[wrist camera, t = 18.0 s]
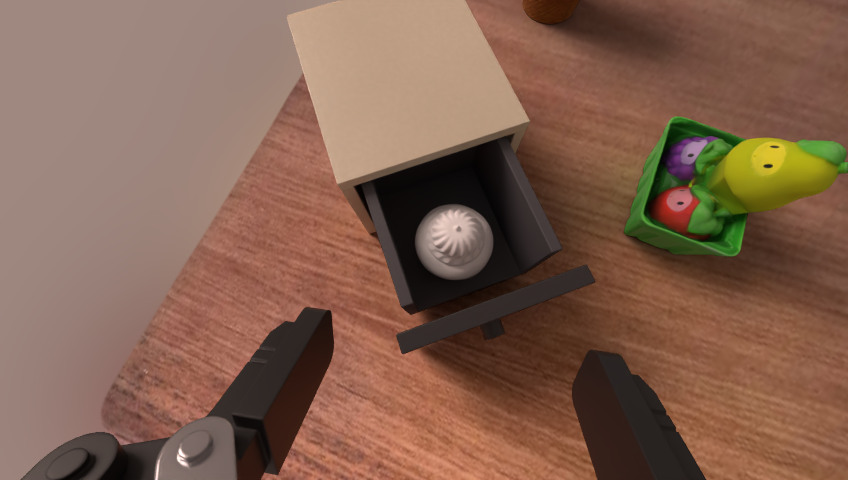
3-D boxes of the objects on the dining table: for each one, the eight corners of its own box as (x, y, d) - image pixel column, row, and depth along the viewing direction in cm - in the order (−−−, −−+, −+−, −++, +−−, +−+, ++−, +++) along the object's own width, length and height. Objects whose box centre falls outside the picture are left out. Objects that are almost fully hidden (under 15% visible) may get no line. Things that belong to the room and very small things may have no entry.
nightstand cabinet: (498, 190, 32) (530, 121, 22) (369, 234, 31) (337, 184, 21) (444, 72, 36) (448, -32, 26) (328, 108, 35) (285, 15, 25)
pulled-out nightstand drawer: (552, 310, 28) (606, 300, 19) (416, 362, 27) (408, 375, 18) (482, 160, 32) (500, 97, 23) (363, 200, 31) (337, 149, 22)
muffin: (498, 267, 28) (520, 246, 21) (436, 299, 27) (438, 287, 20) (465, 209, 29) (474, 171, 22) (405, 237, 29) (397, 208, 22)
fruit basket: (636, 144, 33) (736, 52, 22) (724, 176, 32) (875, 95, 21) (605, 239, 30) (702, 186, 19) (700, 278, 29) (861, 245, 18)
